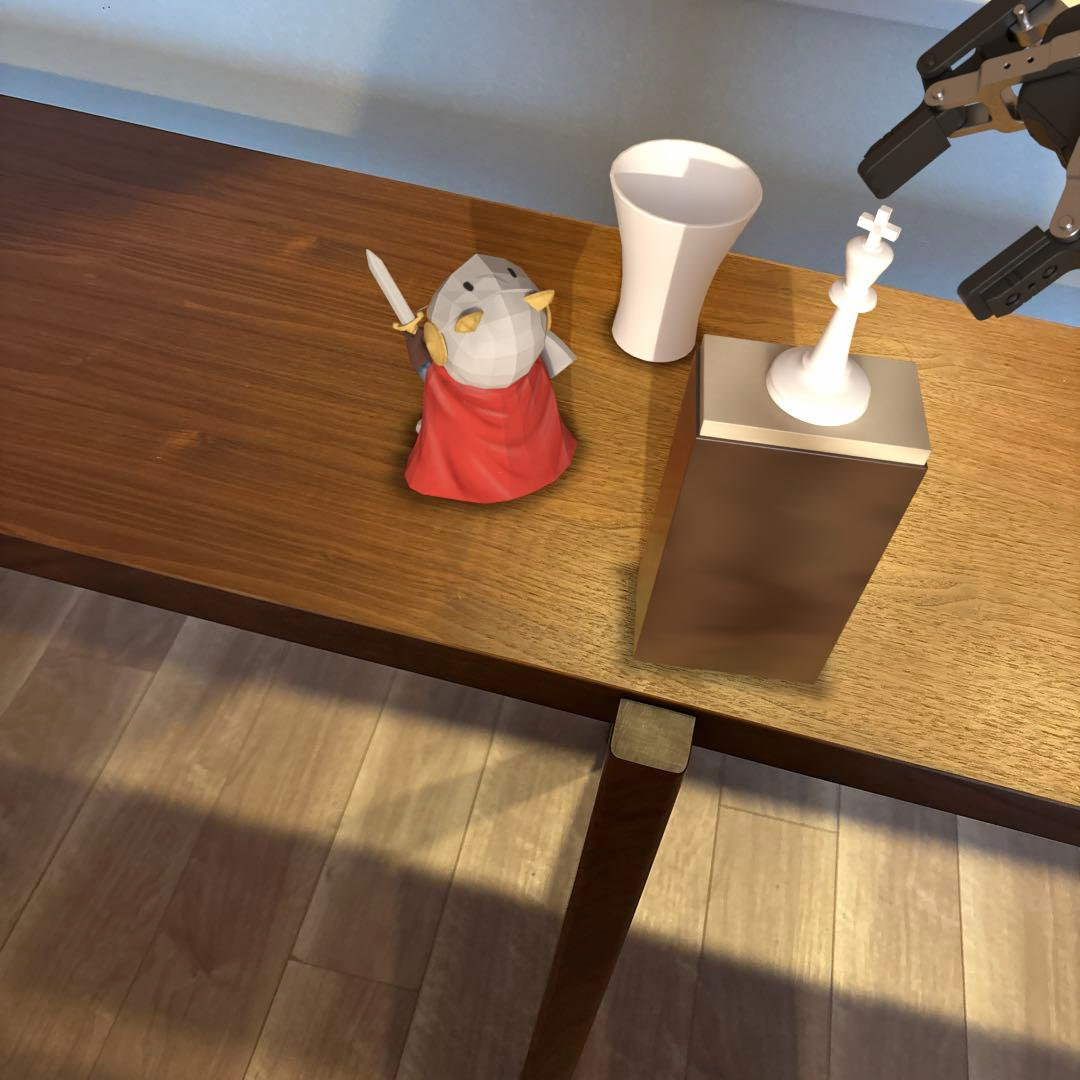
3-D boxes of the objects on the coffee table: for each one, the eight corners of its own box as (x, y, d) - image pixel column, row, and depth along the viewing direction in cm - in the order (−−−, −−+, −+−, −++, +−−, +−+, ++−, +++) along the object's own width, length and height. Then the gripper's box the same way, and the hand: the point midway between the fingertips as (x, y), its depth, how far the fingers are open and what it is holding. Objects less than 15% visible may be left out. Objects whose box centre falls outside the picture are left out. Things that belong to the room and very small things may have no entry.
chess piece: (794, 341, 55) (857, 160, 47) (884, 386, 53) (964, 207, 46) (747, 393, 52) (805, 210, 44) (840, 442, 50) (917, 262, 43)
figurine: (549, 375, 81) (571, 197, 70) (595, 489, 74) (629, 313, 63) (371, 397, 78) (364, 215, 67) (403, 518, 71) (401, 339, 60)
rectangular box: (808, 598, 70) (919, 360, 55) (814, 685, 66) (936, 454, 51) (637, 575, 70) (700, 330, 55) (632, 661, 66) (699, 422, 51)
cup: (725, 387, 82) (770, 234, 72) (585, 375, 82) (610, 218, 71) (716, 298, 89) (756, 145, 78) (586, 286, 88) (609, 131, 78)
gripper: (1148, -202, 42) (801, 102, 48) (1435, -34, 34) (974, 307, 40) (1184, -62, 48) (869, 195, 54) (1439, 111, 40) (1033, 393, 45)
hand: (914, 243), depth 47 cm, fingers open, 8 cm apart
